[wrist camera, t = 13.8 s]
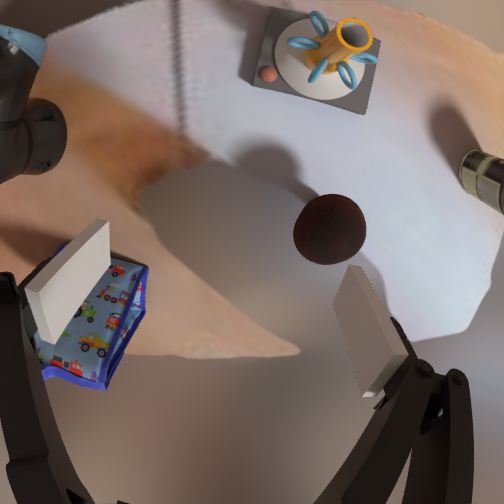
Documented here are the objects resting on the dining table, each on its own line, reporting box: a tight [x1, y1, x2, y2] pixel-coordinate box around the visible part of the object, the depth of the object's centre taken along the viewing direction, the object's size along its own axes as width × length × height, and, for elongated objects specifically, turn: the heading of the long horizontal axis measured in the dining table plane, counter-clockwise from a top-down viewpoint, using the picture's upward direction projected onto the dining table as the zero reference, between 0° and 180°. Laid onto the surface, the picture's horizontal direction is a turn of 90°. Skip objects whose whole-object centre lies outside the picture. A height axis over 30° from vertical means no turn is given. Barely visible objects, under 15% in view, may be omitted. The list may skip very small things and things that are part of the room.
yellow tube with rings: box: [287, 11, 378, 90], centre depth 28 cm, size 12×10×15 cm
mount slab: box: [253, 7, 381, 115], centre depth 36 cm, size 18×14×4 cm
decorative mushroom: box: [293, 194, 366, 265], centre depth 43 cm, size 11×11×15 cm
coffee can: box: [459, 149, 504, 215], centre depth 38 cm, size 10×10×14 cm
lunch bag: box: [34, 244, 149, 391], centre depth 44 cm, size 22×14×29 cm, turn 75°
